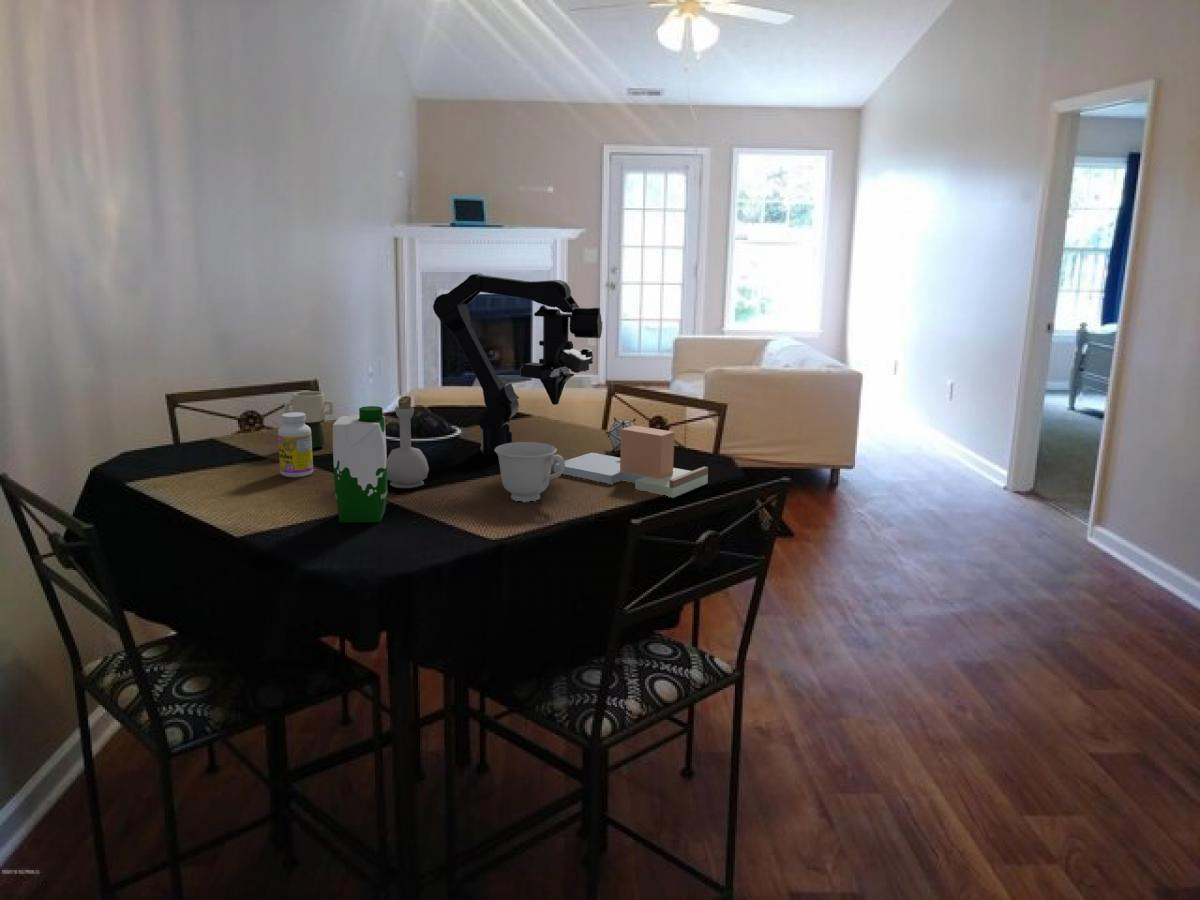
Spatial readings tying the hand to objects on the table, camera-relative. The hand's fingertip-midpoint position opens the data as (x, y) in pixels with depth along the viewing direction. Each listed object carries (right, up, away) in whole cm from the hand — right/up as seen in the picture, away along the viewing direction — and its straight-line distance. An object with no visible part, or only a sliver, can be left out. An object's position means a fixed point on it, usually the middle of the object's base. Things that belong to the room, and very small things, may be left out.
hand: (555, 404), depth 214 cm
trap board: (+17, -16, -16) cm, 28 cm away
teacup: (-3, -20, -33) cm, 39 cm away
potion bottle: (-29, -18, -24) cm, 42 cm away
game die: (+16, -11, +8) cm, 21 cm away
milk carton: (-33, -23, -46) cm, 61 cm away
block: (+20, -15, -19) cm, 31 cm away
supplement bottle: (-54, -16, -18) cm, 59 cm away
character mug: (-58, -10, +5) cm, 59 cm away
